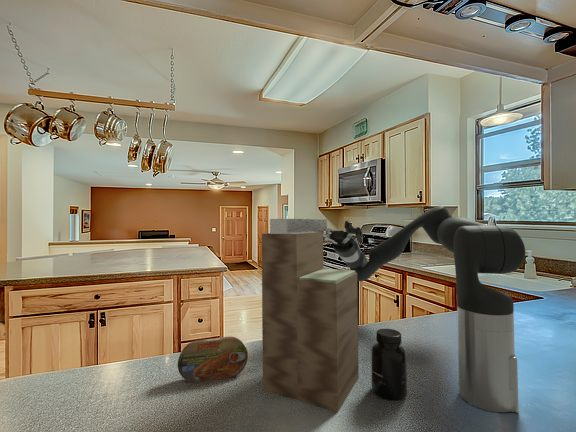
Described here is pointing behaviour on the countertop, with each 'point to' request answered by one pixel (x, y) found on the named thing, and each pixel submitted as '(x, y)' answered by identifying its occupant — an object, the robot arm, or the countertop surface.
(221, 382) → the countertop surface
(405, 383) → the supplement bottle
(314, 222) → the steel bar
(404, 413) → the countertop surface
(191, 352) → the tin
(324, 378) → the walnut stand
